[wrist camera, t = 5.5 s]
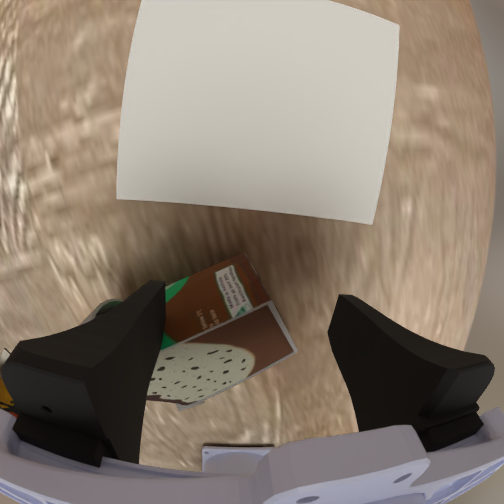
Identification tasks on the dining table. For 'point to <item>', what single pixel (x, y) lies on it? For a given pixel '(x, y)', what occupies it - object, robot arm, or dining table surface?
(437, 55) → the dining table surface
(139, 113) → the mat
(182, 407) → the food container
